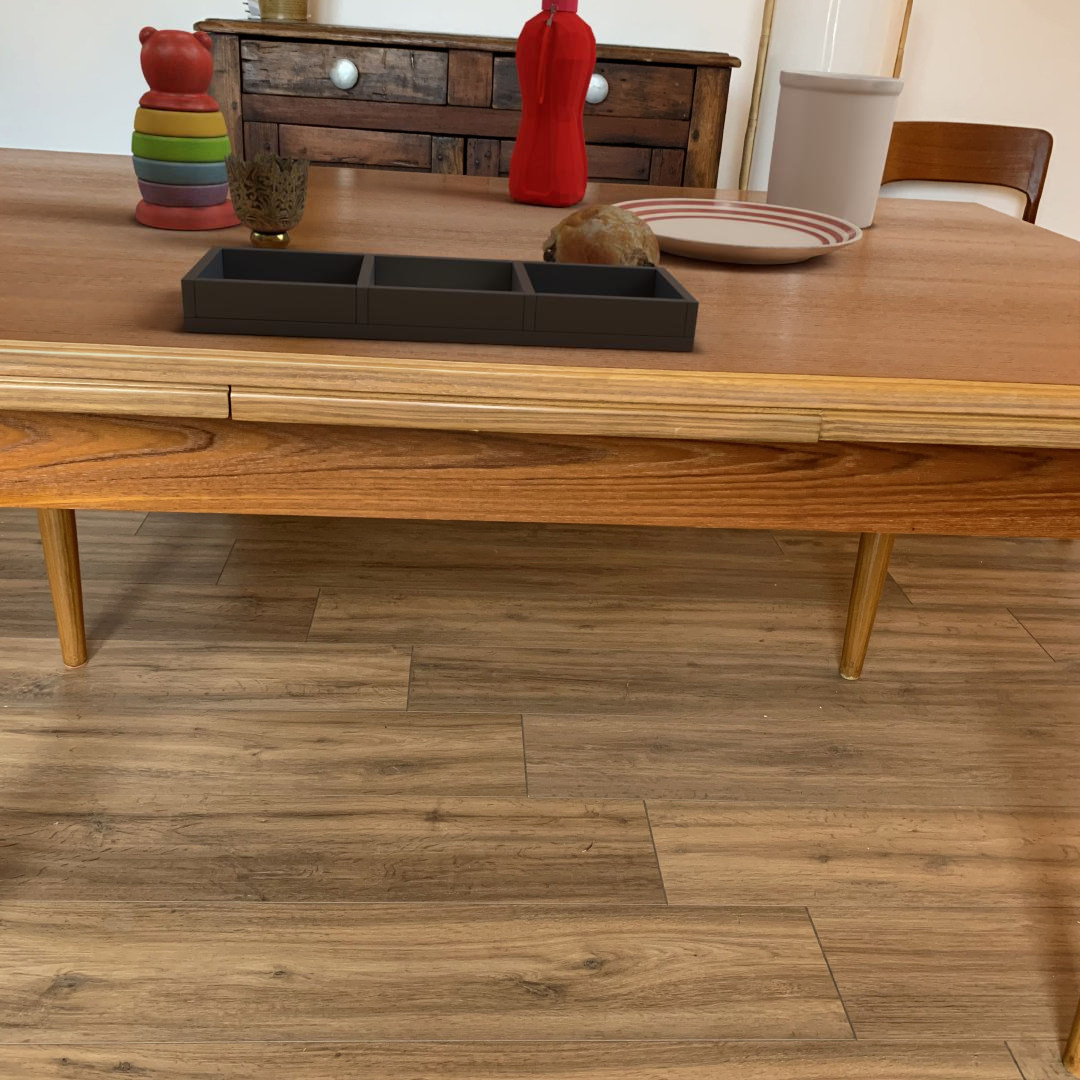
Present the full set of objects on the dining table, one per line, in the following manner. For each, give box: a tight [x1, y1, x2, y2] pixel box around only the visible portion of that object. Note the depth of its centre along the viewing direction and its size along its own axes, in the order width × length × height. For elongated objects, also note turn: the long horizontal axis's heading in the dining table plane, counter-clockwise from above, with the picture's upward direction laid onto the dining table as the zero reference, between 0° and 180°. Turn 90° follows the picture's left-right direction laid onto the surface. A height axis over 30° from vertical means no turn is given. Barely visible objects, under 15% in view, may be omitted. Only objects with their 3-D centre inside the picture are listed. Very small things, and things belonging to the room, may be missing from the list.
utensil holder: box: [765, 69, 905, 230], centre depth 138 cm, size 15×15×18 cm
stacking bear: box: [130, 26, 242, 231], centre depth 106 cm, size 11×10×18 cm
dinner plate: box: [611, 197, 864, 266], centre depth 117 cm, size 28×27×3 cm
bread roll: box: [541, 204, 661, 267], centre depth 98 cm, size 10×10×8 cm
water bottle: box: [508, 0, 597, 208], centre depth 134 cm, size 9×11×25 cm
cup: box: [224, 152, 311, 249], centre depth 99 cm, size 8×7×8 cm
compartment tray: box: [180, 245, 700, 353], centre depth 79 cm, size 35×12×4 cm, turn 95°
